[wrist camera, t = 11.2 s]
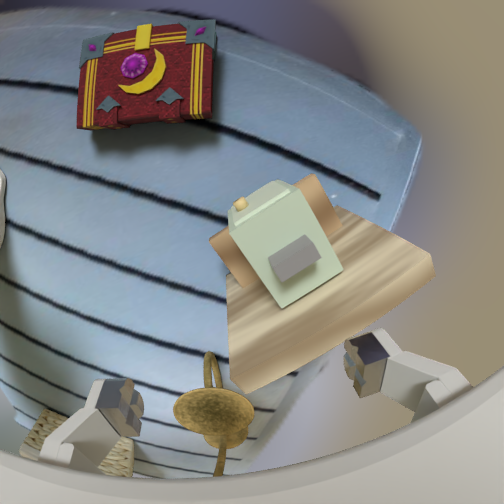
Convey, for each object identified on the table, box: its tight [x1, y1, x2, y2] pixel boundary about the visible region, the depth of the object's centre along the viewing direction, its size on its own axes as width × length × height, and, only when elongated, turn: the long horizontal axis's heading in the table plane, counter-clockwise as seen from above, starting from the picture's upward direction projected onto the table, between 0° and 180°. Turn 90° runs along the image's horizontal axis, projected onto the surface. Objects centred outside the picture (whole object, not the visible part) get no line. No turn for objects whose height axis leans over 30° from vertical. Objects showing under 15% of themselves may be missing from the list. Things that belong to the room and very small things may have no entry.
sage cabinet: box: [228, 179, 344, 309], centre depth 22 cm, size 8×6×10 cm
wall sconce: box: [173, 351, 254, 477], centre depth 28 cm, size 14×10×25 cm
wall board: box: [209, 174, 436, 394], centre depth 25 cm, size 10×16×18 cm, turn 122°
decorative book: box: [77, 20, 216, 130], centre depth 24 cm, size 11×16×5 cm
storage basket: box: [19, 409, 134, 477], centre depth 38 cm, size 24×16×15 cm
